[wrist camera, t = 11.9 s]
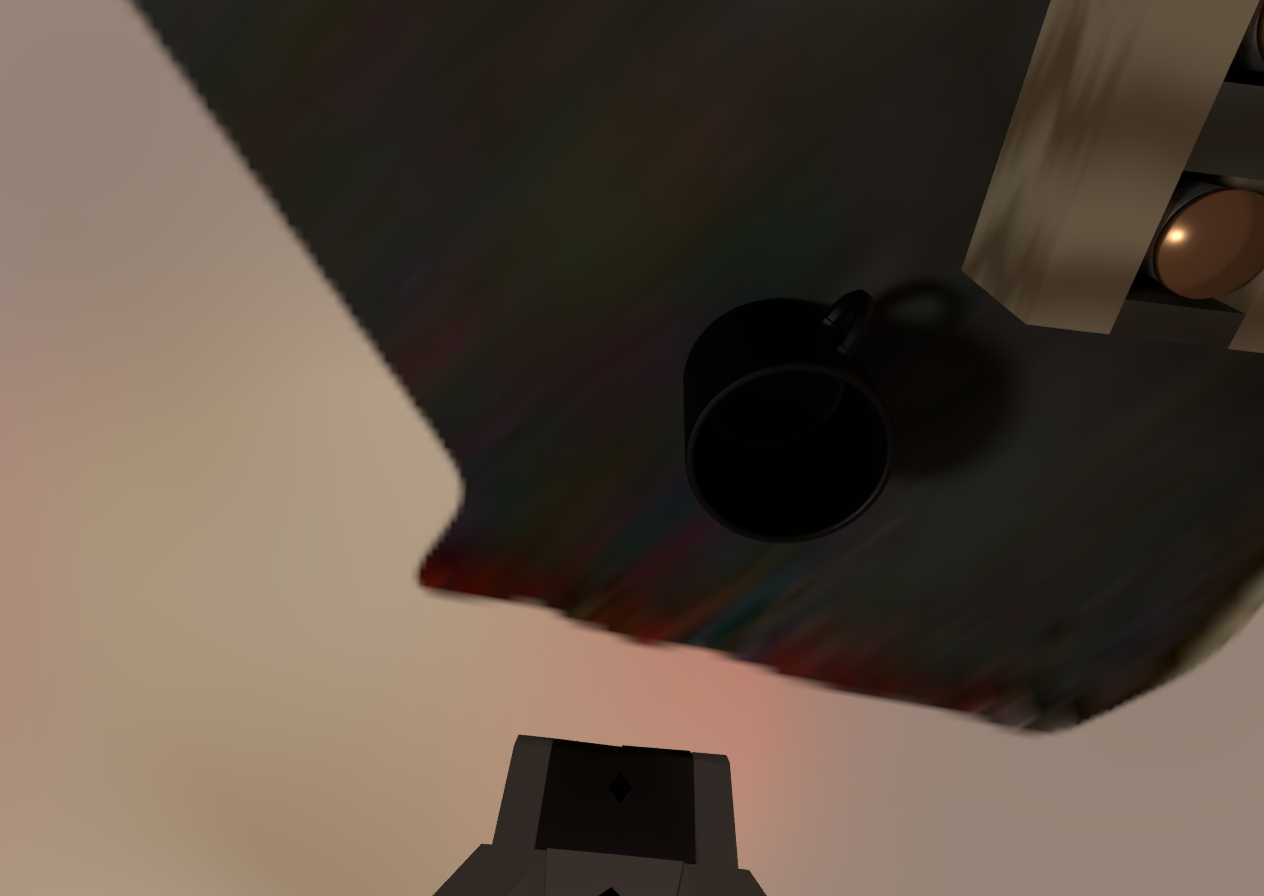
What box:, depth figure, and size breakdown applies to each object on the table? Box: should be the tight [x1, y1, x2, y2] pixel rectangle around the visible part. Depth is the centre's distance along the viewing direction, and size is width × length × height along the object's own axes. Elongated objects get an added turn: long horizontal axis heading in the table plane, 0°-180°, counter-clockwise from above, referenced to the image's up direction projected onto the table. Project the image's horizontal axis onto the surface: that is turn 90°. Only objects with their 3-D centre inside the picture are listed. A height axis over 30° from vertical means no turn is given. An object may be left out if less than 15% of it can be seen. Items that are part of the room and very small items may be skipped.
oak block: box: [961, 0, 1264, 353], centre depth 30 cm, size 16×12×8 cm
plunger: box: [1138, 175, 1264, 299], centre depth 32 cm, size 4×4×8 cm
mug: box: [683, 290, 896, 543], centre depth 37 cm, size 9×12×9 cm
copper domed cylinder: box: [1228, 0, 1264, 72], centre depth 28 cm, size 4×4×8 cm
